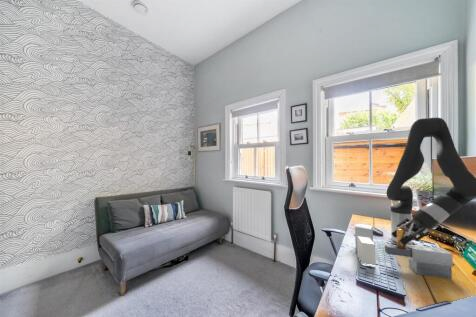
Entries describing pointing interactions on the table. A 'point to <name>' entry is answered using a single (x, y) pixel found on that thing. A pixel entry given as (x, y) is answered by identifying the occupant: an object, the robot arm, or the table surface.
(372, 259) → the socket block
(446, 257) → the grey sleeve
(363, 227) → the supplement box
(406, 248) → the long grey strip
